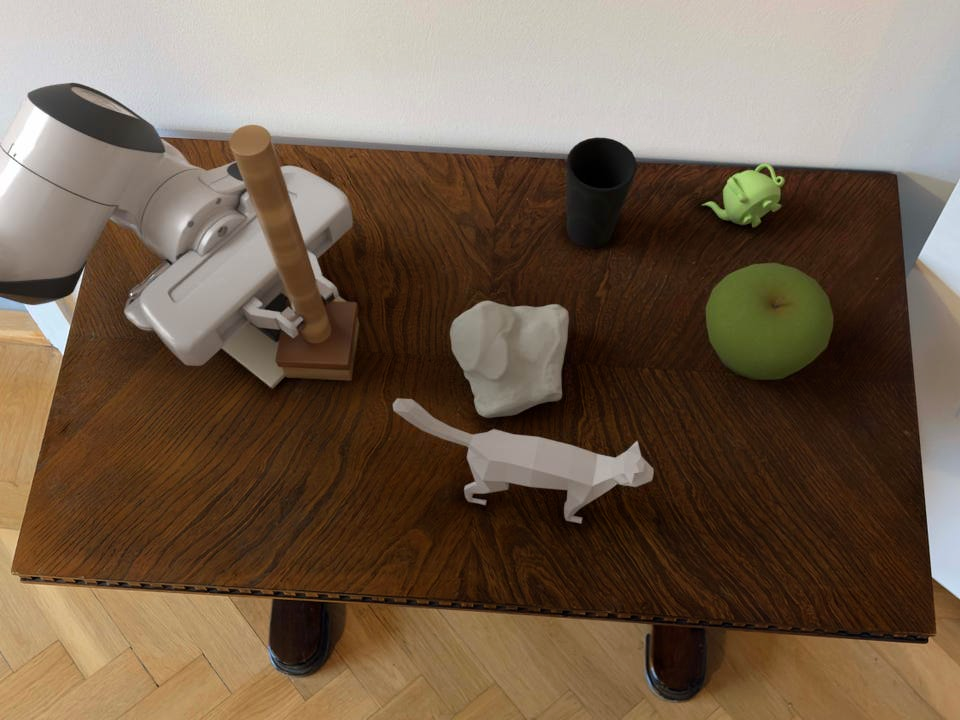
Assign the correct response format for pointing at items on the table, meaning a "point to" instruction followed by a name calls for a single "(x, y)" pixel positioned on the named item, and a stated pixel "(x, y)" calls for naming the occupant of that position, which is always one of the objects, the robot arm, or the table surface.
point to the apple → (768, 320)
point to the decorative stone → (511, 355)
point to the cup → (597, 189)
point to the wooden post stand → (295, 268)
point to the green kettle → (749, 196)
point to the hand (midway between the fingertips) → (316, 312)
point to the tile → (258, 352)
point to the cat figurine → (534, 462)
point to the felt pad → (277, 306)
